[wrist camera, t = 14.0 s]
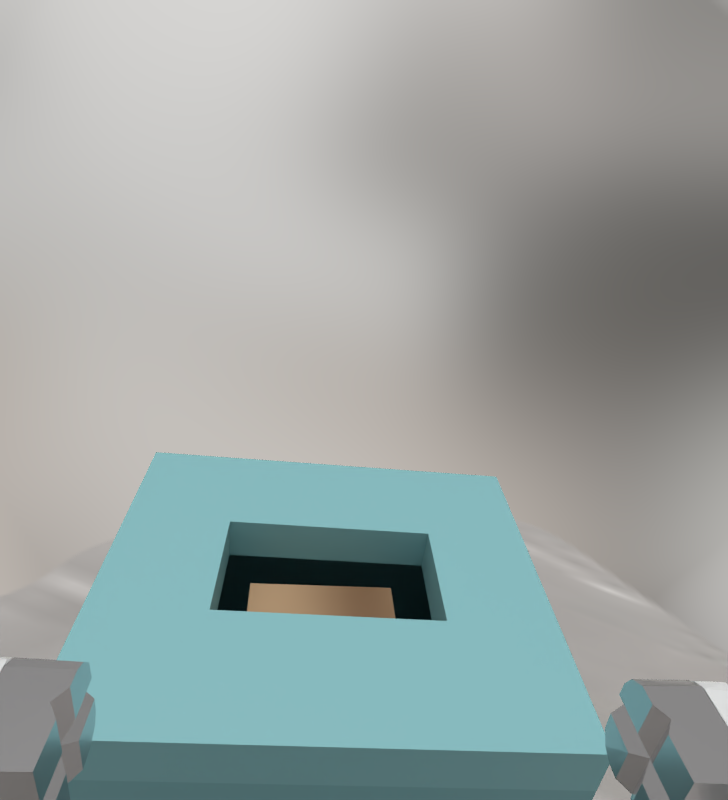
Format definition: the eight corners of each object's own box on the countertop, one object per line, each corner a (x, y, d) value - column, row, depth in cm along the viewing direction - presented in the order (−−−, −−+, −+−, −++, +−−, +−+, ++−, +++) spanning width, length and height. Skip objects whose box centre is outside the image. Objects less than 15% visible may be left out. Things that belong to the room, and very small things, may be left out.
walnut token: (236, 822, 24) (243, 641, 19) (242, 759, 26) (250, 583, 21) (363, 820, 24) (399, 644, 20) (359, 759, 26) (390, 587, 22)
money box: (75, 995, 19) (18, 738, 14) (166, 673, 30) (156, 452, 24) (499, 990, 21) (613, 754, 15) (442, 684, 31) (496, 476, 26)
